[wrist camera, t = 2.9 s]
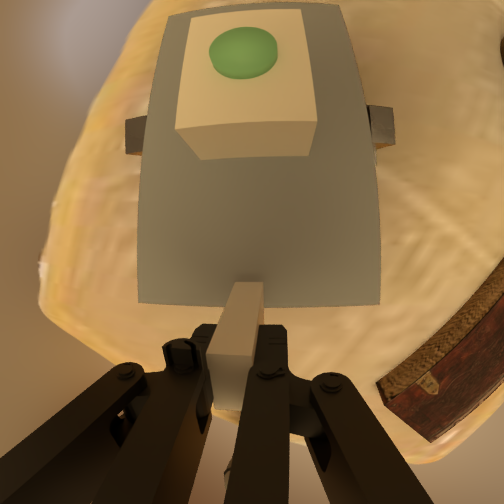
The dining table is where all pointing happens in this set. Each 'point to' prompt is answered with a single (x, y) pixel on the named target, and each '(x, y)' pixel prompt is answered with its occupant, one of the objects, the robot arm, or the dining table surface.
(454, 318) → the hardback book
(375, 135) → the pivot stand
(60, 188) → the dining table surface
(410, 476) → the robot arm
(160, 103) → the instrument plate
